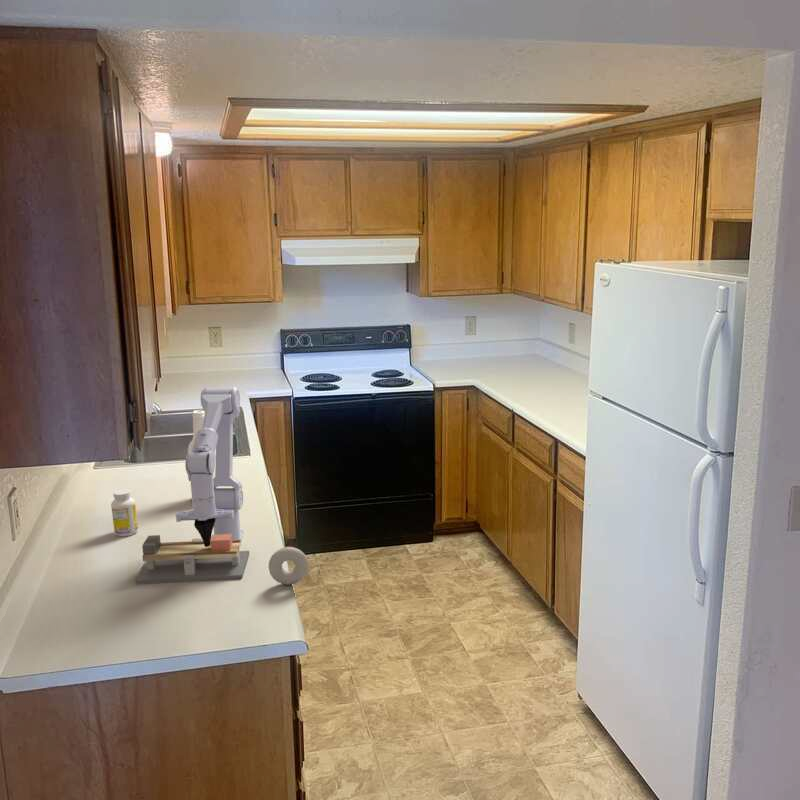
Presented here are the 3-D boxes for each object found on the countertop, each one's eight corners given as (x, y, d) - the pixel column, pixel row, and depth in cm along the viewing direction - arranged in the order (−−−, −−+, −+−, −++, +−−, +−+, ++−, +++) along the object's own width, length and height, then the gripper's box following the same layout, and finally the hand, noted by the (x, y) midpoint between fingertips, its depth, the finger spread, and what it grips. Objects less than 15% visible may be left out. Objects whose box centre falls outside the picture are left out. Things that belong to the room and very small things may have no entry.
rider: (213, 545, 212) (212, 534, 211) (232, 544, 212) (231, 533, 212) (210, 551, 208) (210, 540, 208) (230, 550, 209) (229, 540, 208)
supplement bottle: (130, 526, 241) (125, 486, 238) (142, 531, 237) (138, 490, 234) (110, 533, 236) (105, 492, 233) (122, 539, 232) (117, 497, 229)
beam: (150, 548, 214) (149, 534, 213) (241, 544, 215) (240, 530, 214) (142, 561, 206) (141, 546, 205) (236, 557, 207) (235, 542, 206)
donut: (269, 588, 199) (266, 551, 197) (270, 582, 202) (267, 545, 200) (309, 585, 200) (307, 548, 198) (309, 579, 203) (307, 543, 201)
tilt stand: (149, 558, 218) (147, 539, 217) (249, 553, 219) (247, 534, 218) (135, 583, 203) (132, 562, 202) (242, 578, 205) (240, 557, 203)
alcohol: (225, 497, 263) (218, 409, 256) (208, 506, 256) (200, 415, 249) (204, 493, 267) (196, 406, 260) (186, 502, 260) (178, 413, 253)
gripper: (171, 503, 203) (176, 552, 206) (229, 500, 203) (233, 550, 206) (177, 493, 209) (182, 541, 213) (233, 491, 210) (237, 539, 213)
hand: (207, 545), depth 210 cm, fingers closed
